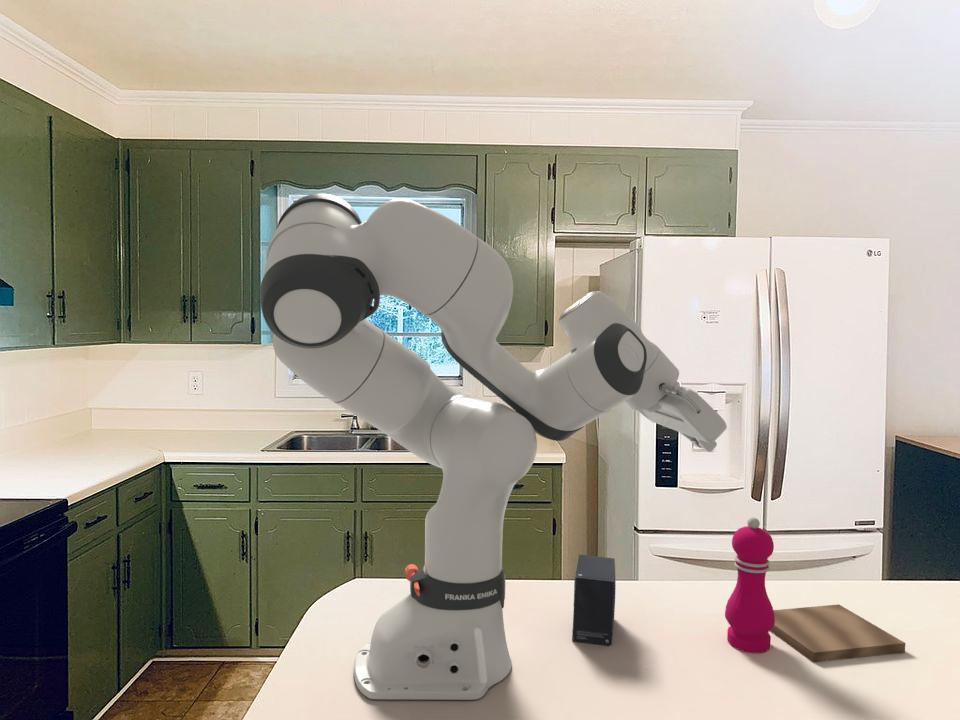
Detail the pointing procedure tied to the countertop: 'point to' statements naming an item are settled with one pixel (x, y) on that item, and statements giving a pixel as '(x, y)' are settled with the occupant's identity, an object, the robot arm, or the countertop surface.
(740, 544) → the pepper mill
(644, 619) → the countertop surface
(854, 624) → the walnut board
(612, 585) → the small box
